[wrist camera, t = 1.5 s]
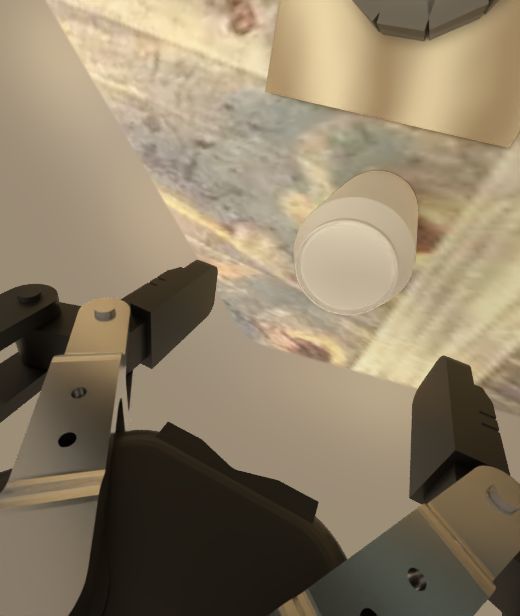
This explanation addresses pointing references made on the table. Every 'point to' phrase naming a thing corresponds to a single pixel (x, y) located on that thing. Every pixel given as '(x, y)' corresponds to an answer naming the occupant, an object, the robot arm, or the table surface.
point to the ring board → (405, 62)
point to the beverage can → (359, 244)
